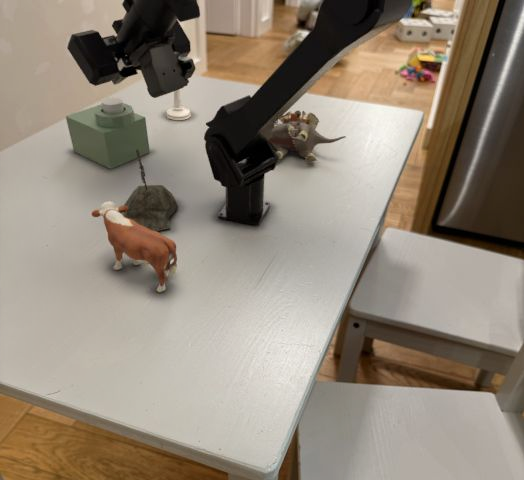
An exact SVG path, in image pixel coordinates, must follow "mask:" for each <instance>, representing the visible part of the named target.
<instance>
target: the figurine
mask: <svg viewBox="0 0 524 480" xmlns="http://www.w3.org/2000/svg"><path fill="white" fill-rule="evenodd" d="M279 121H280V123H279ZM319 123H320V120H319V119H318V117H317V116H316V114H314V113H313V112H308V113H306V111H304V110H302V111H300V110H295V112H293V113H292V112H291V111H290V110H289V111H287V112H285V113H284V114H283V115H282V116H281V117H280V118H279V119H278V120H277V121H276V122H275V124H274V125H273V129H272V133H271V136H270V138H269V139H268V140H269V142H270V144H271V145H272V147H273V148H274V149H276V151H275V152H276V154H277V156H278V158H279V160H282V159H283V157H285V156H286V155H287V154H288V153H289V151H293V152H298V153H297V154H298V155H299V157H301V158H305V159H304V161H305V162H304V164H310V163H313V162H318V159H316V158H317V156H316V155H315V153H312V151H313V150H314V149H315V147H316V146H317V145H320V144H321V145H322V144H333V143H335V142H337V141H339V140H340V141H341V140H343V139H345V138H347V136H345V135H344V136H340V137H336V138H328V137H326V136H323V135H322V134H320V133H319V131H317V130H316V128H317V127H318V126H319V125H318V124H319Z"/></svg>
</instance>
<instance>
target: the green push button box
mask: <svg viewBox="0 0 524 480" xmlns="http://www.w3.org/2000/svg"><path fill="white" fill-rule="evenodd" d="M123 107H124V112H122V113H119V114H105V113H103V108H102V103H101V104H98V105H95V106H92V107H89V108H86V109H83V110H80V111H77V112H73V113H71V114H67V115H65V120H66V124H67V128H68V133H69V136H70V141H71V144H72V149H73V153H76V154H78V155H80V156H82V157H84V158H86V159H88V160H90V161H93V162H95V163H96V164H99V165H101V166H103V167H105V168H108V169H109V170H112V169H115V168H117V167H119V166H121V165H124V164H126V163H128V162H131V161H133V160H136V159H138V156H137V153H136V148H138V150H139V154H140V157H142V156H144V155H147V154H149V153H150V143H149V136H148V126H147V120H146V116H143V115H141V114H139V113H136V112H135V110H134V107H133V106H132V105H130V104H128V103H124V102H123Z"/></svg>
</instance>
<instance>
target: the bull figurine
mask: <svg viewBox="0 0 524 480" xmlns="http://www.w3.org/2000/svg"><path fill="white" fill-rule="evenodd" d="M126 211H128V207H127V206H124V205H120V206H118V207H117V205H116V204H115V203H114V202H113V201H105V202H103V203H102V205H101V206H100V209H94V210H92V211H91V216H92V217H93V218H99V217H100V216H101V217H102V218H103V224H104V227H105V230H106V232H107V239H108V240H107V241H108V242H109V244H110V245H111V246H112V247H113V251H114V259H115V264H114V265H113V270H114V271H119V270H120V269H121V270H122V269H123V264H122V260H123V259H124V258H123V255H124V254H125V255H126V256H127V257H128V258H130V259H131V260H133V261H132V264H133V266H138V265H141V264H142V263H145V264H146V265H149V264H150V266H151V267H152V268H153V270H154V271H155V274H156V275H157V278H158V281H159V284H158V286H157V288H156V292H157V293H162V292H164V291H165V290H166V281H167V279H168V276H169V275H171V276H174V275H175V274H176V271H177V269H178V268H177V267H178V264H177V261H178V256H177V244H176V243H175V241H174V240H173V239H171V238H169V237H167V236H165V235H163V233H162V234H161V232H160V231H152V230H150V229H148V228H146V227H144V226H142V225H139V224H138V223H136V222H135V221H133V220H132V219H129V218H126V217H124V212H126ZM122 213H123V214H122ZM172 260H173V261H172ZM171 261H172V263H171Z"/></svg>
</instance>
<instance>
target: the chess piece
mask: <svg viewBox="0 0 524 480" xmlns="http://www.w3.org/2000/svg"><path fill="white" fill-rule="evenodd" d="M182 103H183V102H182V99H181V94H180V89H179V90H176V91H174V92H173V106H172V107H171V108H169V109H168V110H166V117H167V119H170V120H172V121H185V120H187V119H189V118H191V116H192V115H191V111H190V109H188V108H186V107H184V106H183V104H182Z"/></svg>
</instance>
